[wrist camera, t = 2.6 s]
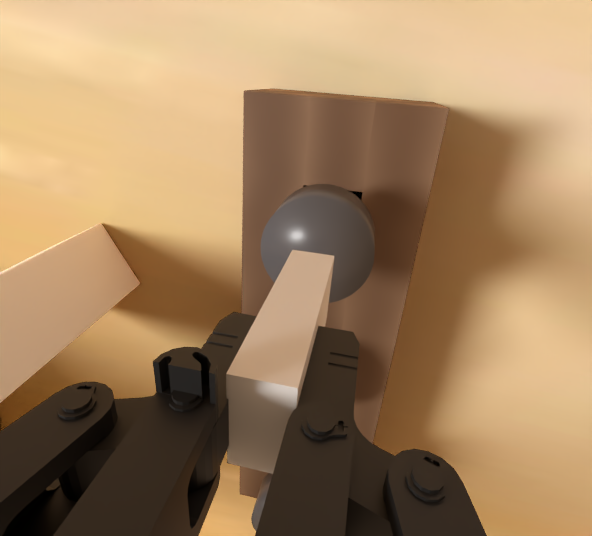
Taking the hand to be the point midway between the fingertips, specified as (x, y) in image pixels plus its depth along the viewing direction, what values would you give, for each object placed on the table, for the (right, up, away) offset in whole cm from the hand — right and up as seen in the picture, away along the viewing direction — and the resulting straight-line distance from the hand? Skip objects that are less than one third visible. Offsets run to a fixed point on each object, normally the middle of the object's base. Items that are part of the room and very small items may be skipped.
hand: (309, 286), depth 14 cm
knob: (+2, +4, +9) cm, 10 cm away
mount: (+2, -3, +17) cm, 18 cm away
